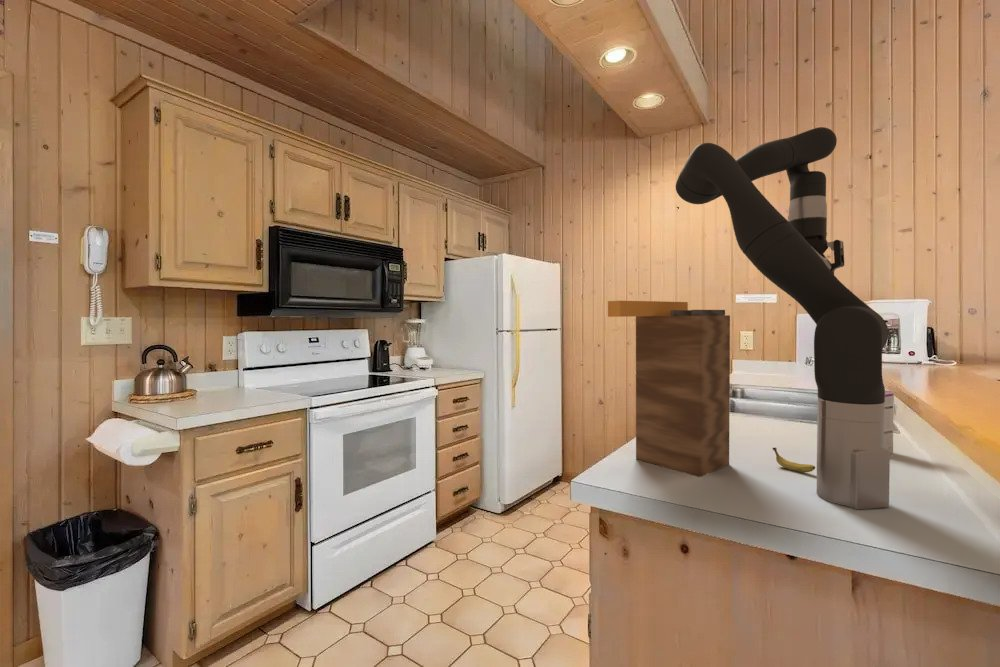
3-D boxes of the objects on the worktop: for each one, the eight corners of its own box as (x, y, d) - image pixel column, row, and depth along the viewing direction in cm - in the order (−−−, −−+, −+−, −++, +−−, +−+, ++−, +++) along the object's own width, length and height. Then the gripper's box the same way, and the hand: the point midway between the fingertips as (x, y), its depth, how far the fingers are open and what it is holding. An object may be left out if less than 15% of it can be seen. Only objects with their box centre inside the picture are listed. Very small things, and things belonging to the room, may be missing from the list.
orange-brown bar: (675, 316, 110) (675, 302, 110) (687, 315, 108) (687, 302, 108) (607, 316, 96) (607, 301, 96) (620, 316, 93) (620, 300, 93)
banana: (770, 466, 99) (770, 447, 99) (774, 464, 100) (774, 446, 100) (812, 477, 92) (813, 457, 92) (817, 475, 93) (817, 455, 93)
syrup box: (894, 453, 107) (895, 390, 106) (878, 456, 105) (879, 392, 104) (867, 446, 112) (867, 386, 112) (851, 449, 110) (851, 388, 110)
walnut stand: (666, 449, 112) (666, 311, 110) (729, 464, 100) (729, 309, 99) (636, 459, 104) (635, 311, 103) (699, 476, 92) (700, 309, 91)
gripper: (849, 215, 105) (847, 287, 106) (780, 225, 117) (779, 290, 117) (838, 211, 101) (836, 286, 101) (767, 221, 112) (766, 289, 113)
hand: (805, 288), depth 109 cm, fingers open, 8 cm apart
